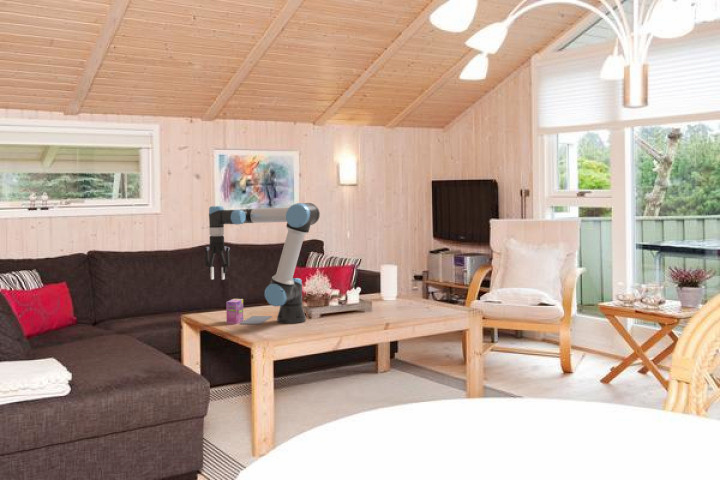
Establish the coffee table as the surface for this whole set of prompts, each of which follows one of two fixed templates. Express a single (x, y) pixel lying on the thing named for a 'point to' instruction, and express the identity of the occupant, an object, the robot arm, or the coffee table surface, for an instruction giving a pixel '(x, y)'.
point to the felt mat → (256, 320)
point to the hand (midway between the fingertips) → (217, 279)
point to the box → (234, 311)
